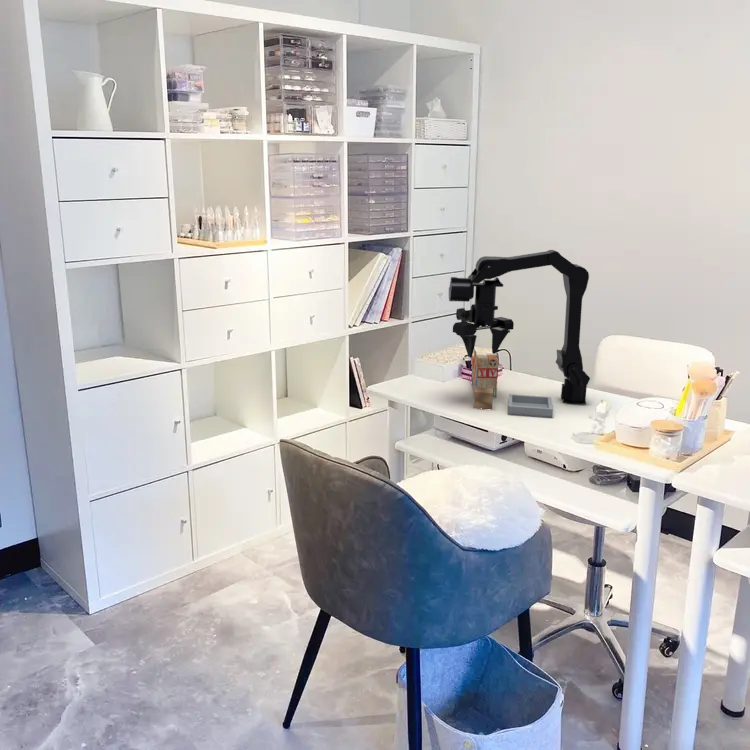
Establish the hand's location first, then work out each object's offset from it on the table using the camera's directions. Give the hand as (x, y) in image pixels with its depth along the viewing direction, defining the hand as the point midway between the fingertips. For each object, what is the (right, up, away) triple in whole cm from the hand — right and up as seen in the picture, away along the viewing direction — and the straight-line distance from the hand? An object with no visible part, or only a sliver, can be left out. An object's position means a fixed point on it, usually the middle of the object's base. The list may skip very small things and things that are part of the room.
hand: (482, 355), depth 223 cm
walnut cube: (0, -15, -3) cm, 15 cm away
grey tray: (+13, -16, -5) cm, 21 cm away
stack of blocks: (+2, -10, +16) cm, 19 cm away
